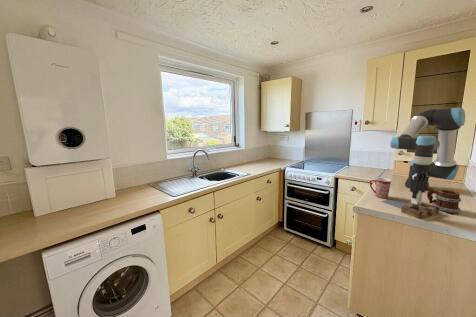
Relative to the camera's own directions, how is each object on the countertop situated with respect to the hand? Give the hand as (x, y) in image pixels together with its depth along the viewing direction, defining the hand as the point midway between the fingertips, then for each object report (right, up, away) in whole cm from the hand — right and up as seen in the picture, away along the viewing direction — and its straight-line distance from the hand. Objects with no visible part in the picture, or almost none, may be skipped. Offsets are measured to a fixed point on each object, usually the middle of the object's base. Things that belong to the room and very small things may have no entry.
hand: (416, 202), depth 114 cm
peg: (0, -4, +1) cm, 4 cm away
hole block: (+4, -7, +3) cm, 9 cm away
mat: (+3, -4, +17) cm, 17 cm away
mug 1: (-1, -2, +29) cm, 29 cm away
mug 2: (+22, -6, +7) cm, 24 cm away
